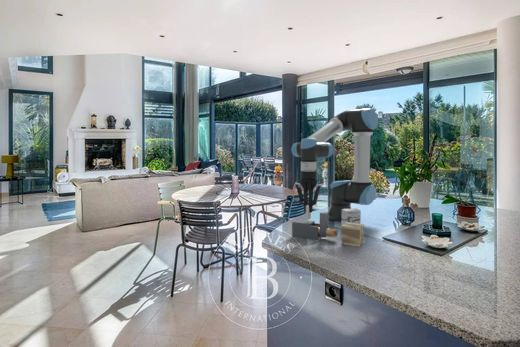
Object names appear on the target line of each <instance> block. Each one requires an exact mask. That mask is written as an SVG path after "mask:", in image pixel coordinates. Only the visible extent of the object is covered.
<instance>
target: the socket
mask: <svg viewBox="0 0 520 347" xmlns="http://www.w3.org/2000/svg"><path fill="white" fill-rule="evenodd" d="M364 225H365V224H364V223H360V224H359V223H350V222H346V223H345V224H343V225H342V231H341V245H343V244H344V245H345V246H351V247H352V246H353V247H359V248H360V247H361V246H362V245H363V243H364V236H365V235H364V231H365V230H364V227H365V226H364Z"/></svg>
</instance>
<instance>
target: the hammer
mask: <svg viewBox="0 0 520 347" xmlns="http://www.w3.org/2000/svg"><path fill="white" fill-rule="evenodd" d="M329 220H330V219H329V211H324V210H322V211H320V212H319V224H320V227H318V236H320V237H322V238H323V239H324V238H335V239H337V237H338V234H339V231H338V229H336V228H330V226H329V223H330V222H329Z"/></svg>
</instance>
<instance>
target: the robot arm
mask: <svg viewBox="0 0 520 347" xmlns="http://www.w3.org/2000/svg"><path fill="white" fill-rule="evenodd" d="M378 125H379V117H378V114H377V112H376V111H375V110H374V109H373V108H370V107H369V108H368V107H367V108H357V109H347V110H345V111H342V112H340V113H338V114H336V115H335V116H333V117H332V118H330V119H329V121H328V123H327V124H326V123H325V125H323V126H322V127H320V128H319V129H318V130H317V131H315V132H314V133H312V134H311V135H310V136H308V137H306V138H301V141H300V142H299V141H298V142H295V143H293V144H292V146H291V149H290V150H291V154H292V155H293V156H294V157H298V158H300V170H301V171H300V180H299V182H298V183H297V184H295V188H296V189H297V193H298V198H299V204H301V205H303V212H304V213H305V220H311V218H312V216H311V213H313V212H314V211H313V208H314V206H315V205H317V203H318V199H319V196H320V195H319V194H320V192H321V189H323V188H322V187H323V185H320V184H319V183H318V180H317V167H318V166H317V158H322V159H323V158H325V159H326V158H329V157H332V155H333V154H334V146H333V144H332V143H330V142H327V141H329V140H330V139H331V138H332V137H334V136H336V135H337V134H341V133H342V132H344V131H345V132H346V131H351V134H352V135H353V136H354V138H353V139H354V141H353V142H354V143H353V144H354V145H353V147H354V148H353V151H354V152H353V178H352V179H351V180H349V179H348V180H335V181H332V182H331V184H330V186H331V187H330V207H329V210H328V212H329V220H331V221H337V222H341V218H342V209H352V206H351V205H352V204H355V205H356V204H357V205H361V206H369V205H371V204H372V203H373V202H374V200H375V199H376V197H377V196H376V195H377V189H376V186H375V185H373V181H372V180H371V179H370V171H371V169H370V166H371V165H370V164H371V162H370V161H371V136H372V135H373V134H374V130H376V129H377V128H378ZM314 189H315V191H314Z"/></svg>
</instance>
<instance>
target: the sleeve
mask: <svg viewBox="0 0 520 347" xmlns="http://www.w3.org/2000/svg"><path fill="white" fill-rule="evenodd" d="M318 227H320V222H319V223H318V222H316V221H315V220H311V219H309V220H307V219H301V218H300V219H299V218H297V219H295V220H293V221H292V222H291V237H292V238H295V239H296V238H297V239H304V240H310V241H311V240H312V241H317V240H318V241H319V240H320V239H322V238H321V237H320V236H318Z"/></svg>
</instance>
